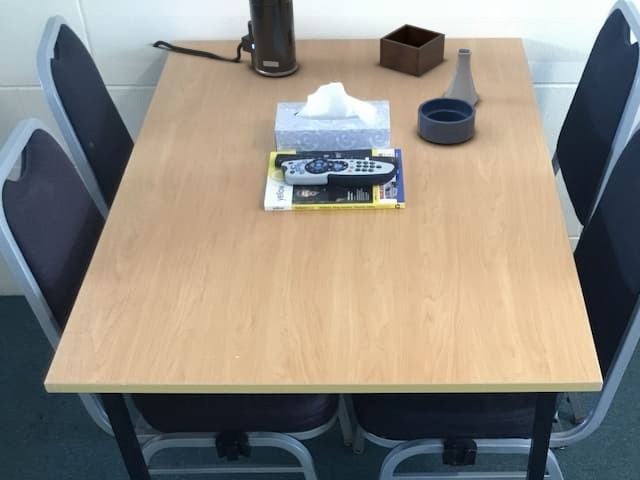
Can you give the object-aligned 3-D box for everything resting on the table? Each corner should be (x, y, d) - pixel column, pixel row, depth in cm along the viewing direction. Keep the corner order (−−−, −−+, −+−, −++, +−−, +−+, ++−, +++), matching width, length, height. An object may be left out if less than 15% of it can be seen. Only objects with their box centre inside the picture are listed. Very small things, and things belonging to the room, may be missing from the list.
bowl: (406, 135, 170) (407, 113, 167) (436, 114, 176) (438, 92, 173) (454, 151, 166) (456, 128, 163) (484, 129, 172) (486, 106, 169)
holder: (379, 65, 192) (379, 38, 188) (405, 49, 198) (406, 23, 194) (418, 76, 188) (419, 49, 184) (443, 60, 194) (445, 34, 190)
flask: (478, 93, 183) (482, 44, 175) (477, 109, 178) (482, 58, 171) (444, 92, 183) (447, 42, 176) (442, 107, 179) (445, 57, 171)
